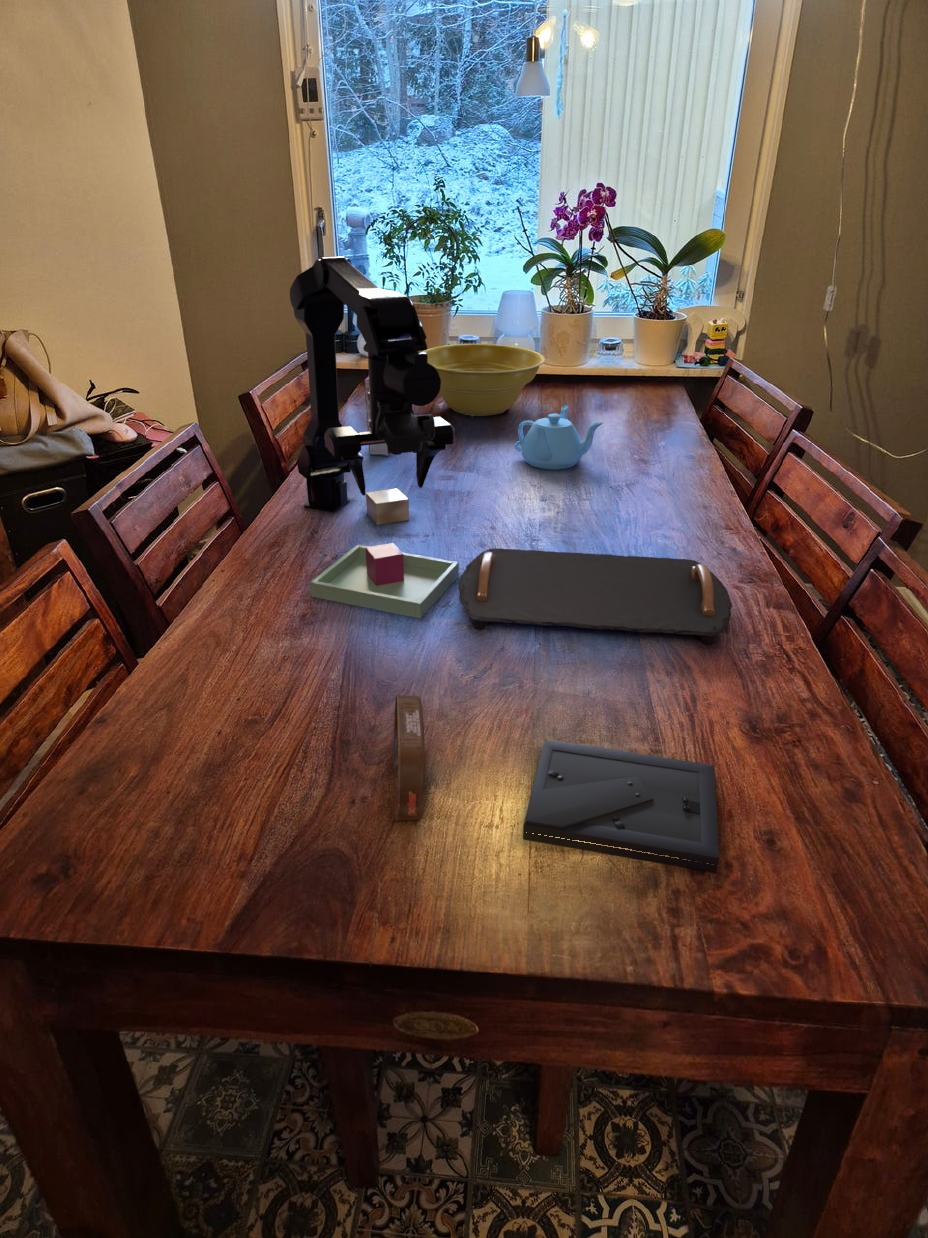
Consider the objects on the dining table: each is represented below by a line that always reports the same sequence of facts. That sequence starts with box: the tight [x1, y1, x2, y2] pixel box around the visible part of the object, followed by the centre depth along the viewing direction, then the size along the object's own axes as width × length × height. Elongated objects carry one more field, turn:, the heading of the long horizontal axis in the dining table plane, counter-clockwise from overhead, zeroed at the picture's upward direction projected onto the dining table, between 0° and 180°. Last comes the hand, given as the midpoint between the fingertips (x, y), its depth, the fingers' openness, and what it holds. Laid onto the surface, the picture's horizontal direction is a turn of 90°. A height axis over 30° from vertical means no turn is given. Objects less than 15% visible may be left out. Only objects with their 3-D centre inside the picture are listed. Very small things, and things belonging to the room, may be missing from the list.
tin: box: [392, 693, 426, 822], centre depth 82 cm, size 15×3×8 cm, turn 5°
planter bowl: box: [421, 343, 545, 417], centre depth 208 cm, size 32×32×13 cm
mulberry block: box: [366, 542, 404, 586], centre depth 123 cm, size 4×4×4 cm
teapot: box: [514, 404, 604, 470], centre depth 173 cm, size 15×15×10 cm
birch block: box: [365, 487, 410, 526], centre depth 146 cm, size 6×6×4 cm
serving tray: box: [457, 548, 733, 646], centre depth 117 cm, size 39×23×6 cm, turn 83°
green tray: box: [309, 544, 460, 620], centre depth 123 cm, size 18×15×2 cm
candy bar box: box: [364, 376, 392, 457], centre depth 178 cm, size 11×5×16 cm, turn 168°
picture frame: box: [522, 739, 720, 873], centre depth 81 cm, size 13×2×18 cm
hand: (392, 490), depth 126 cm, fingers open, 9 cm apart
